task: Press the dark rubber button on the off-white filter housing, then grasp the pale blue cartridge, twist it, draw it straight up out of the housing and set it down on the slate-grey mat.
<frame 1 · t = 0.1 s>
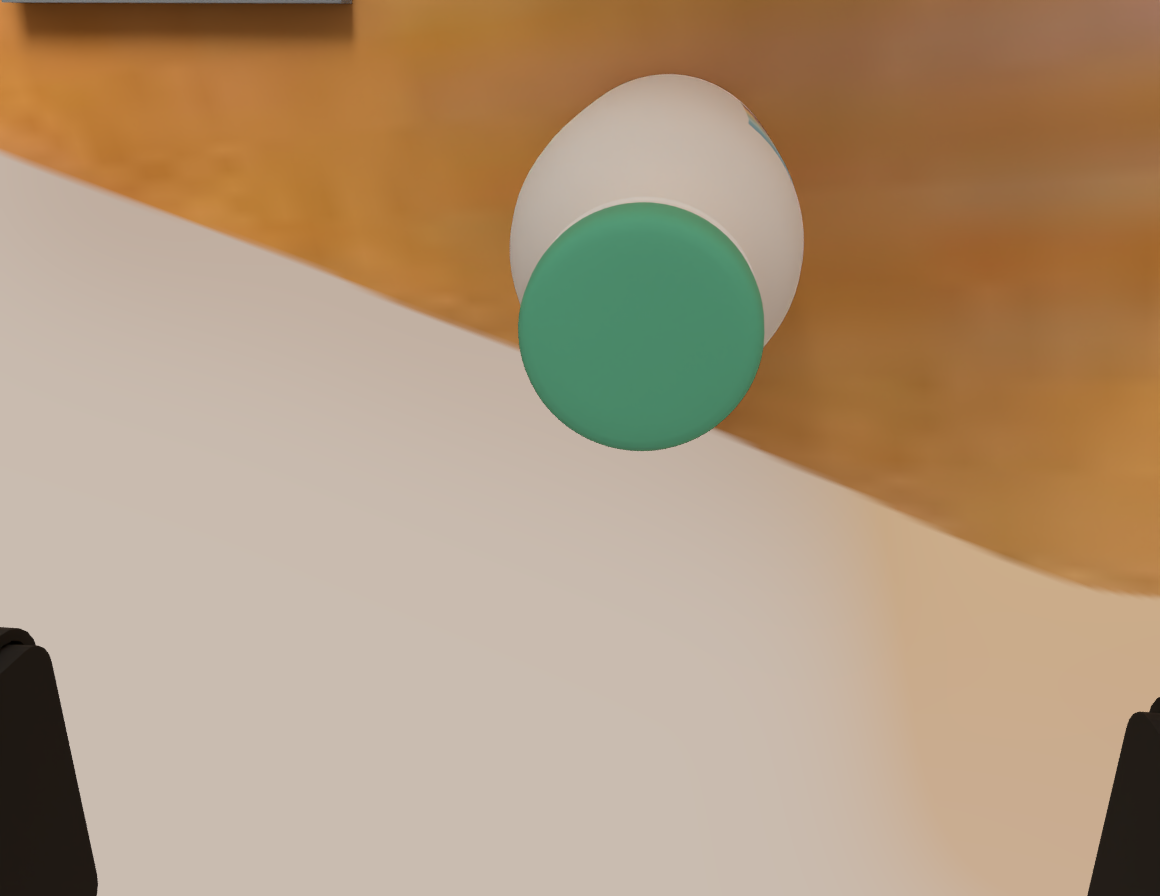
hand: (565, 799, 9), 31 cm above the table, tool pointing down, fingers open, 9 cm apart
milk bottle: (666, 186, 38), on the table
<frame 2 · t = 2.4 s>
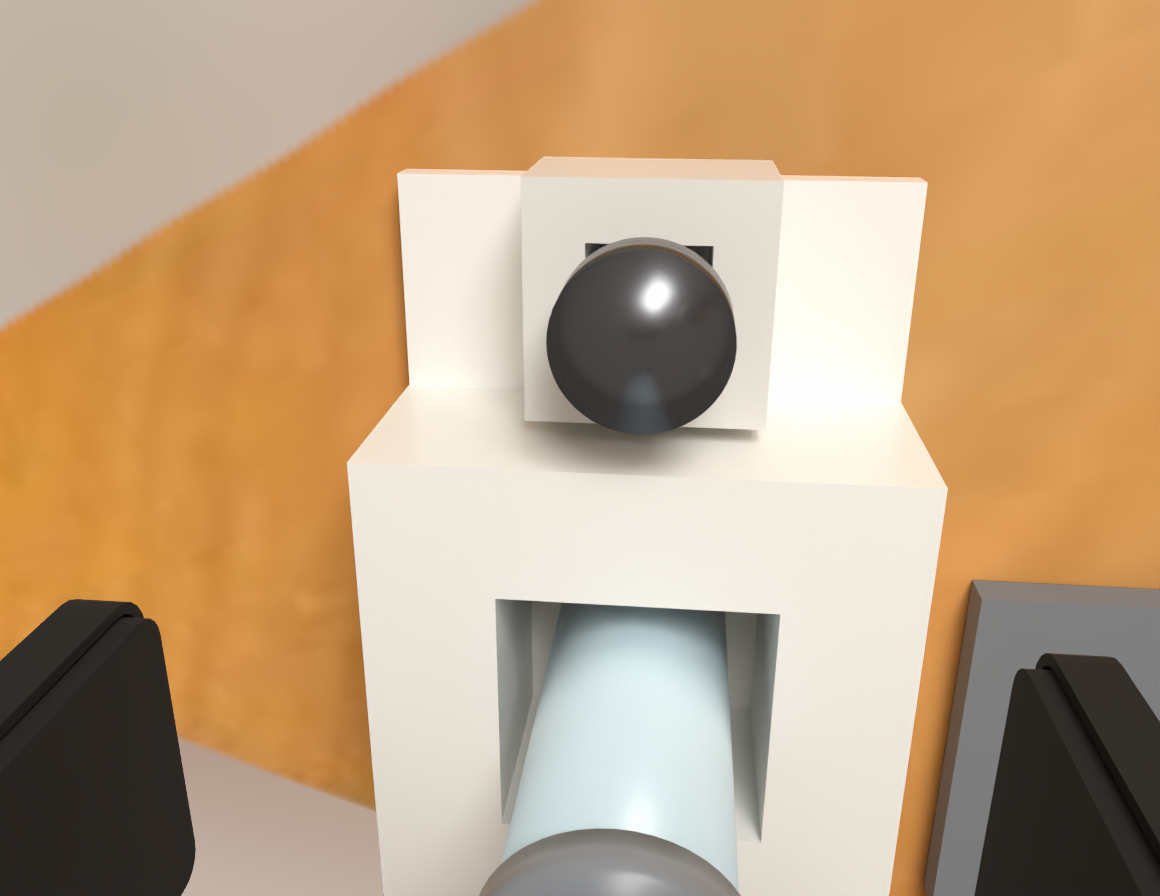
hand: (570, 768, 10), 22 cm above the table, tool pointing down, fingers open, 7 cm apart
cartridge: (643, 607, 33), point 1 cm above the table, touching housing
housing: (644, 591, 34), on the table
plunger: (647, 307, 25), point 5 cm above the table, slide at 1.2 cm
mat: (1137, 754, 34), on the table
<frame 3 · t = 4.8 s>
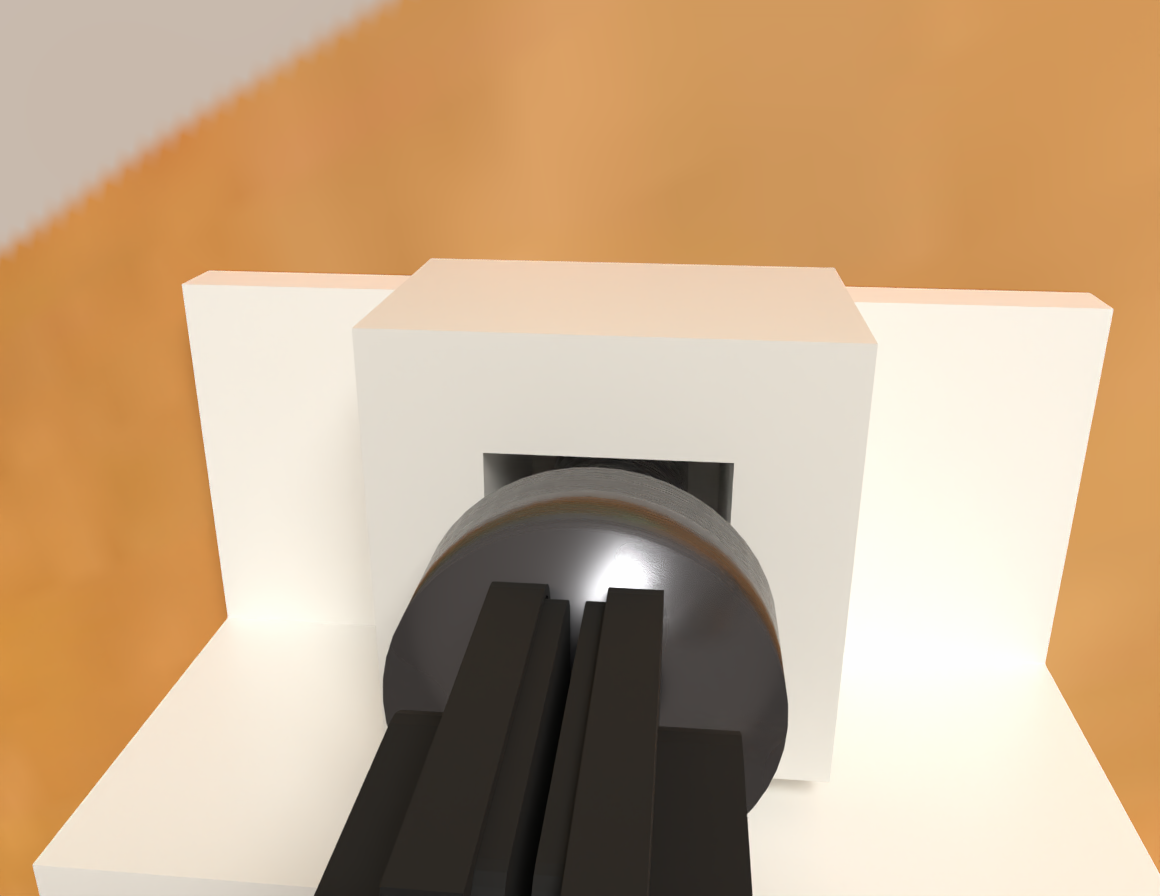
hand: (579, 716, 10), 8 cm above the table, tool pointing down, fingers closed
plunger: (607, 559, 13), point 5 cm above the table, slide at 1.5 cm, touching gripper
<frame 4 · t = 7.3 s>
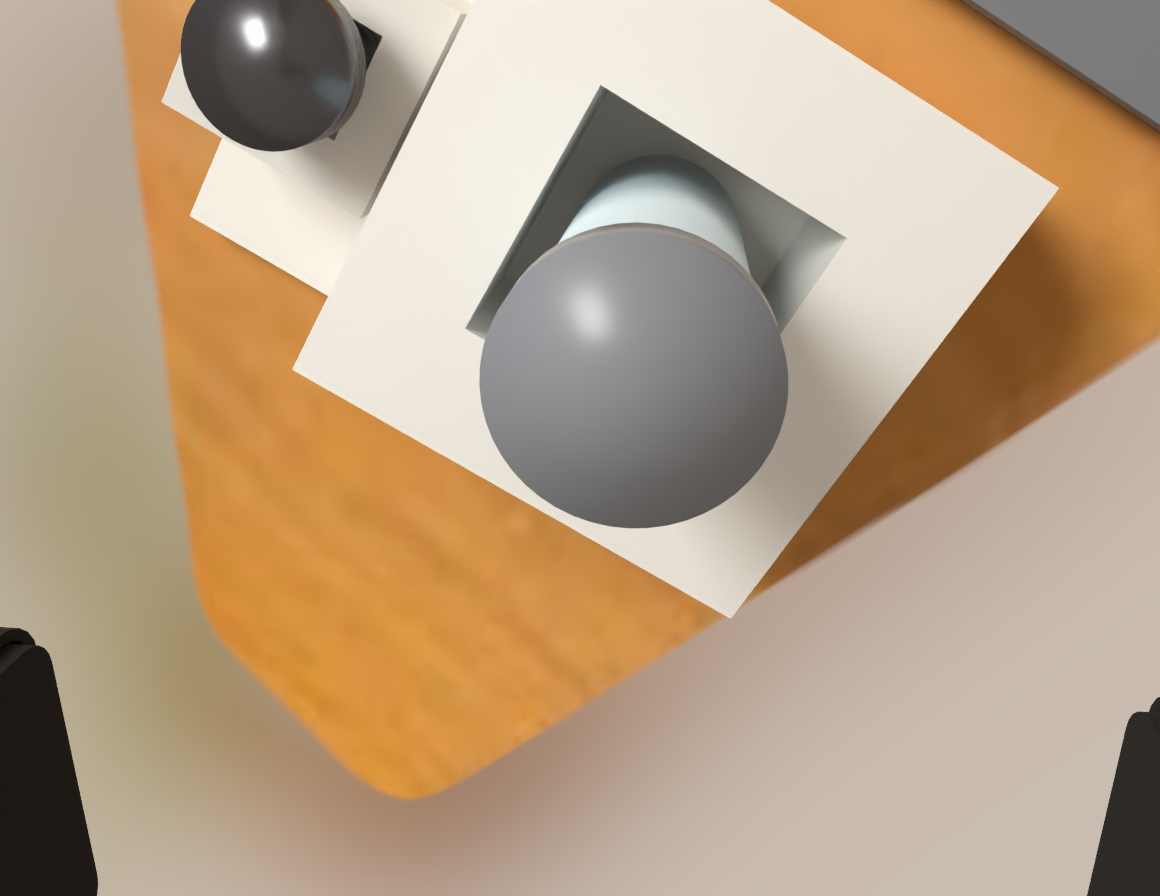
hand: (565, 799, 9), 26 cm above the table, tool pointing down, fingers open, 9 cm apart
cartridge: (657, 239, 32), point 1 cm above the table, touching housing
housing: (658, 233, 33), on the table
plunger: (310, 58, 28), point 5 cm above the table, slide at 1.5 cm
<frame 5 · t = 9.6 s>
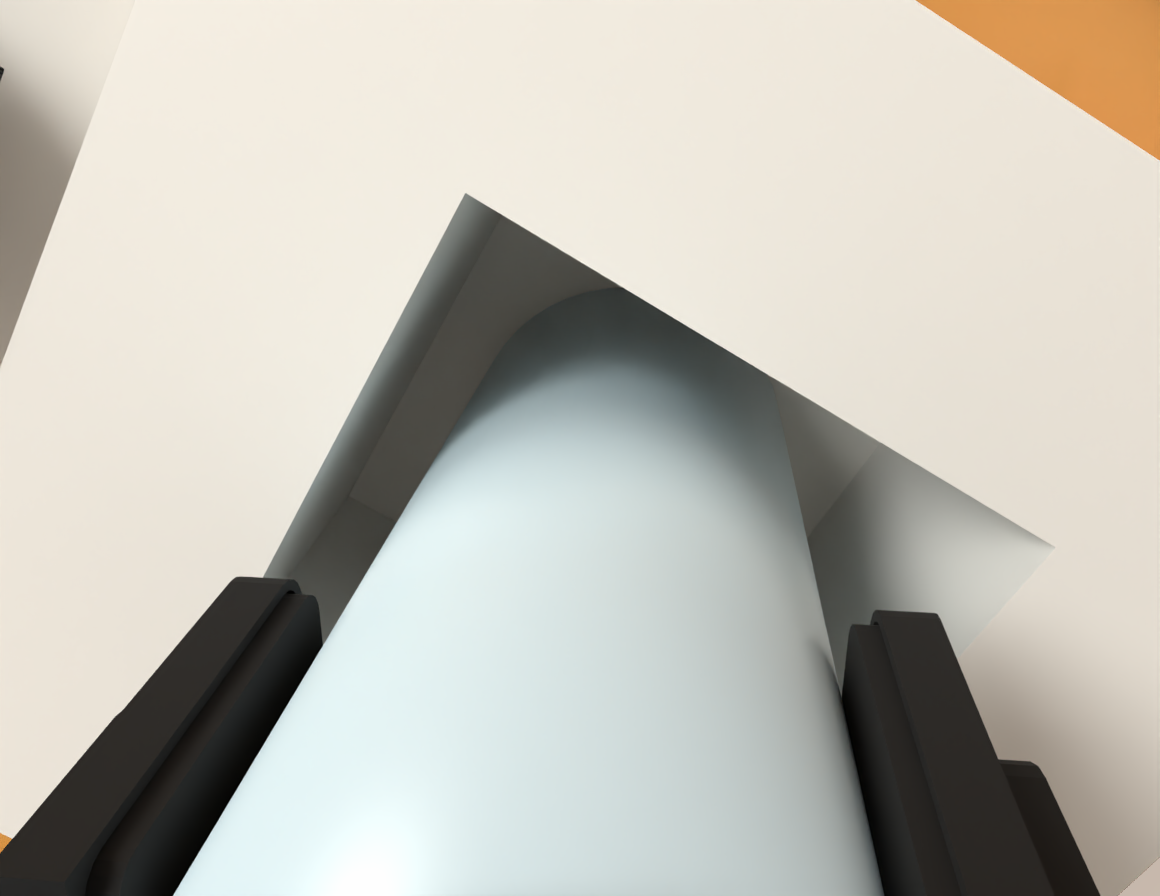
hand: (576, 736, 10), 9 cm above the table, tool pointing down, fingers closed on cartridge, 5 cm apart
cartridge: (626, 437, 17), point 1 cm above the table, touching gripper, housing
housing: (629, 416, 18), on the table
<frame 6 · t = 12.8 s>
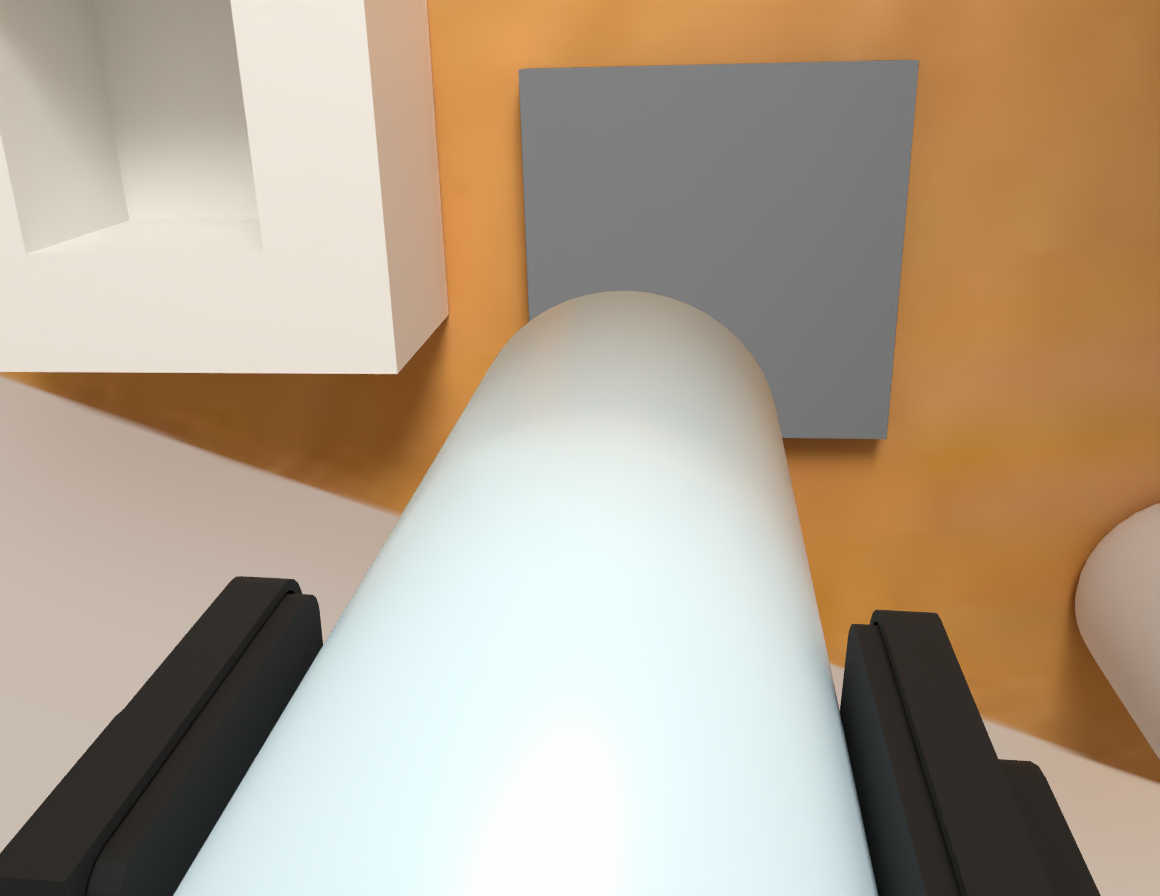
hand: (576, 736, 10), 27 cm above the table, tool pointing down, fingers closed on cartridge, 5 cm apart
cartridge: (624, 440, 17), point 19 cm above the table, touching gripper
housing: (226, 107, 35), on the table
mat: (710, 255, 35), on the table
when the fingers open (11 cm above the table, at t = 16.0 s): cartridge drops 2 cm, resting on mat.
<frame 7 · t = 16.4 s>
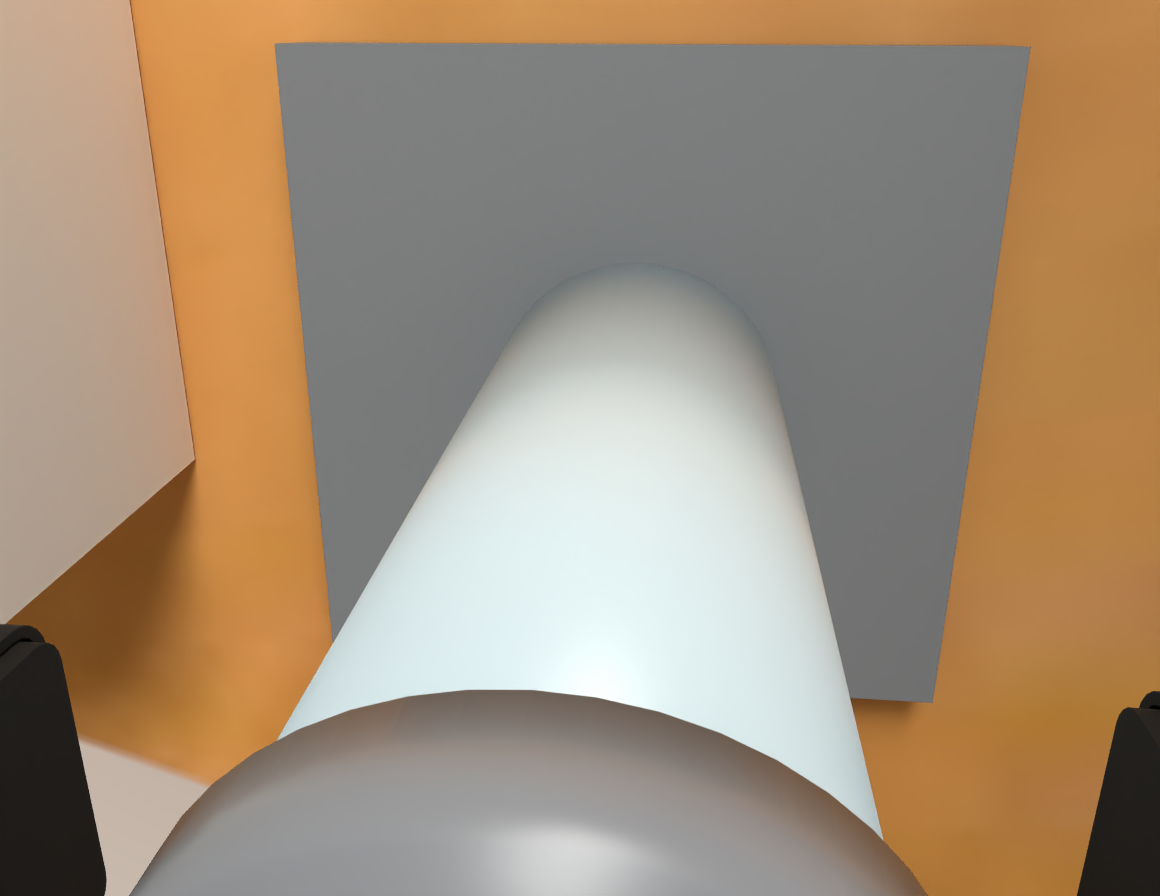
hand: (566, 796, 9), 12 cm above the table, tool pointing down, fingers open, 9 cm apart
cartridge: (634, 401, 19), point 1 cm above the table, touching mat
mat: (635, 381, 20), on the table
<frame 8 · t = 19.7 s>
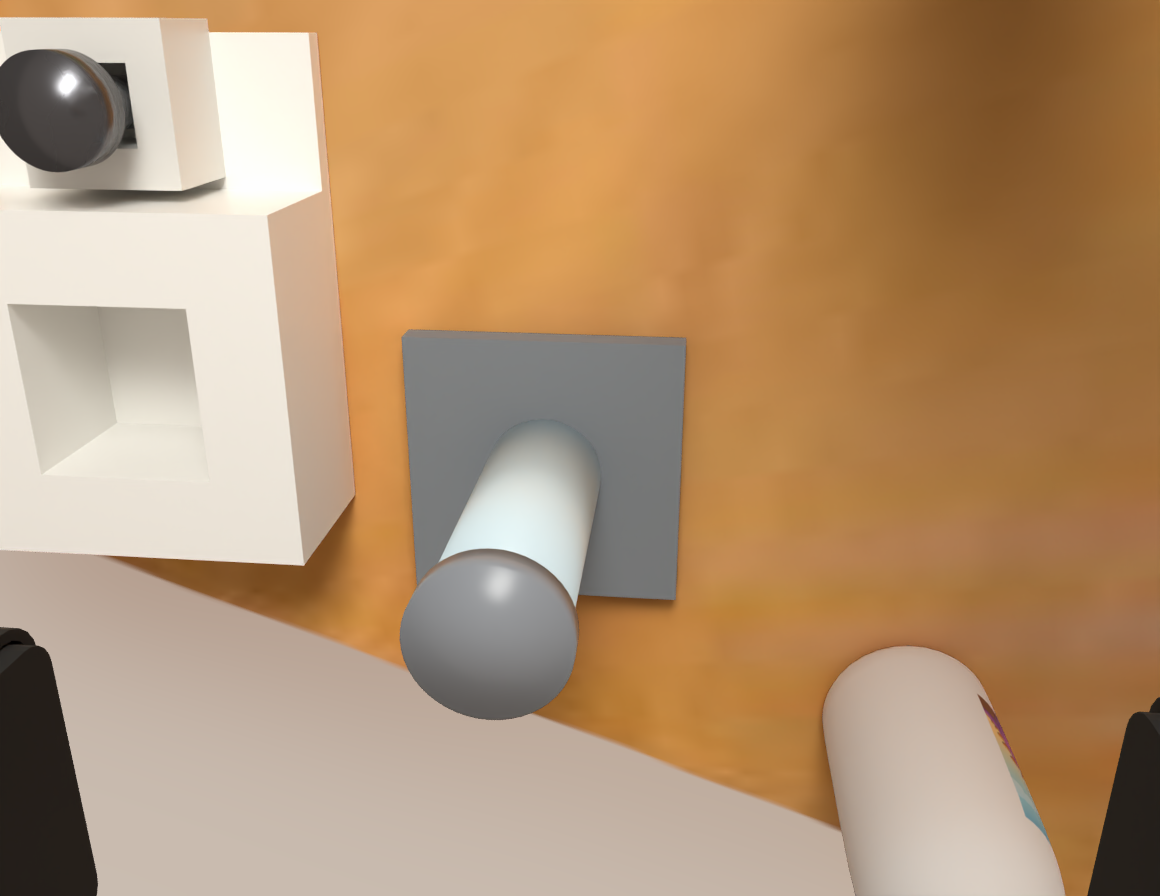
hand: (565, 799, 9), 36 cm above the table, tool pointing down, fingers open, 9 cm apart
cartridge: (544, 473, 47), point 1 cm above the table, touching mat
housing: (190, 344, 47), on the table
plunger: (96, 105, 39), point 5 cm above the table, slide at 1.5 cm
mat: (547, 462, 48), on the table
milk bottle: (901, 706, 51), on the table
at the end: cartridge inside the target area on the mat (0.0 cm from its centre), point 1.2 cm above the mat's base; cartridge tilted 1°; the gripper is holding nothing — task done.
